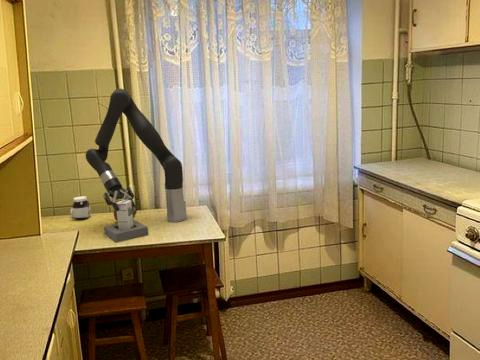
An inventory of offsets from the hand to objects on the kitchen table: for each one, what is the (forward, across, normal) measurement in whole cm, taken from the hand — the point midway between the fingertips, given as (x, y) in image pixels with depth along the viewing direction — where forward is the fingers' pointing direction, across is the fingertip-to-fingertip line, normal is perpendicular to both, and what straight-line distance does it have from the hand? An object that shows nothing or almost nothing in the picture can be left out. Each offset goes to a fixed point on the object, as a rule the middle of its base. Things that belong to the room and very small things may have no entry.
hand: (125, 208), depth 241 cm
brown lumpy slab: (-7, +14, +27) cm, 31 cm away
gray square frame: (+9, 0, +10) cm, 13 cm away
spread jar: (-24, 0, +44) cm, 50 cm away
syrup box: (+7, 0, +9) cm, 11 cm away
